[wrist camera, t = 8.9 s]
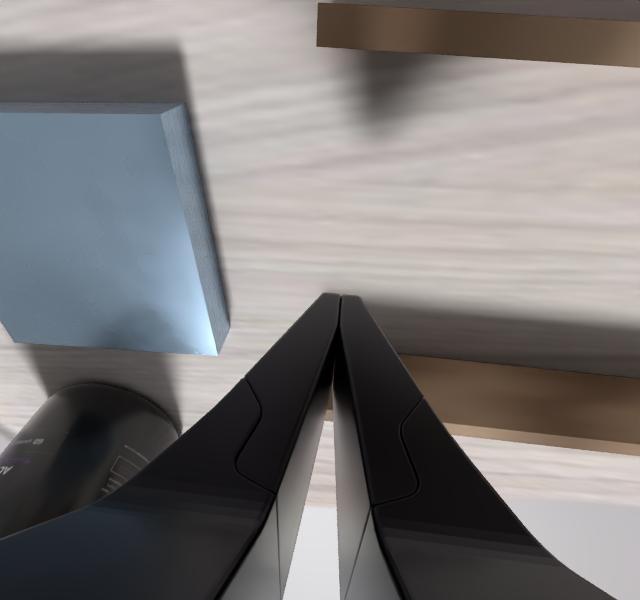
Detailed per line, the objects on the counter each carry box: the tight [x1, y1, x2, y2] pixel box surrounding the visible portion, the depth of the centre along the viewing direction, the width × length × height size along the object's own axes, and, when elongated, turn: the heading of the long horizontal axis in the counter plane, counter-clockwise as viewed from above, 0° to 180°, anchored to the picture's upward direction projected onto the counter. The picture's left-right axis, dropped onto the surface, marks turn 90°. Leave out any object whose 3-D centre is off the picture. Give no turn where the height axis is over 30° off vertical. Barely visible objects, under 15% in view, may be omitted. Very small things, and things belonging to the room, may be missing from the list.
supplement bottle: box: [0, 383, 178, 539], centre depth 15 cm, size 7×7×12 cm
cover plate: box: [0, 102, 230, 356], centre depth 12 cm, size 8×8×2 cm
